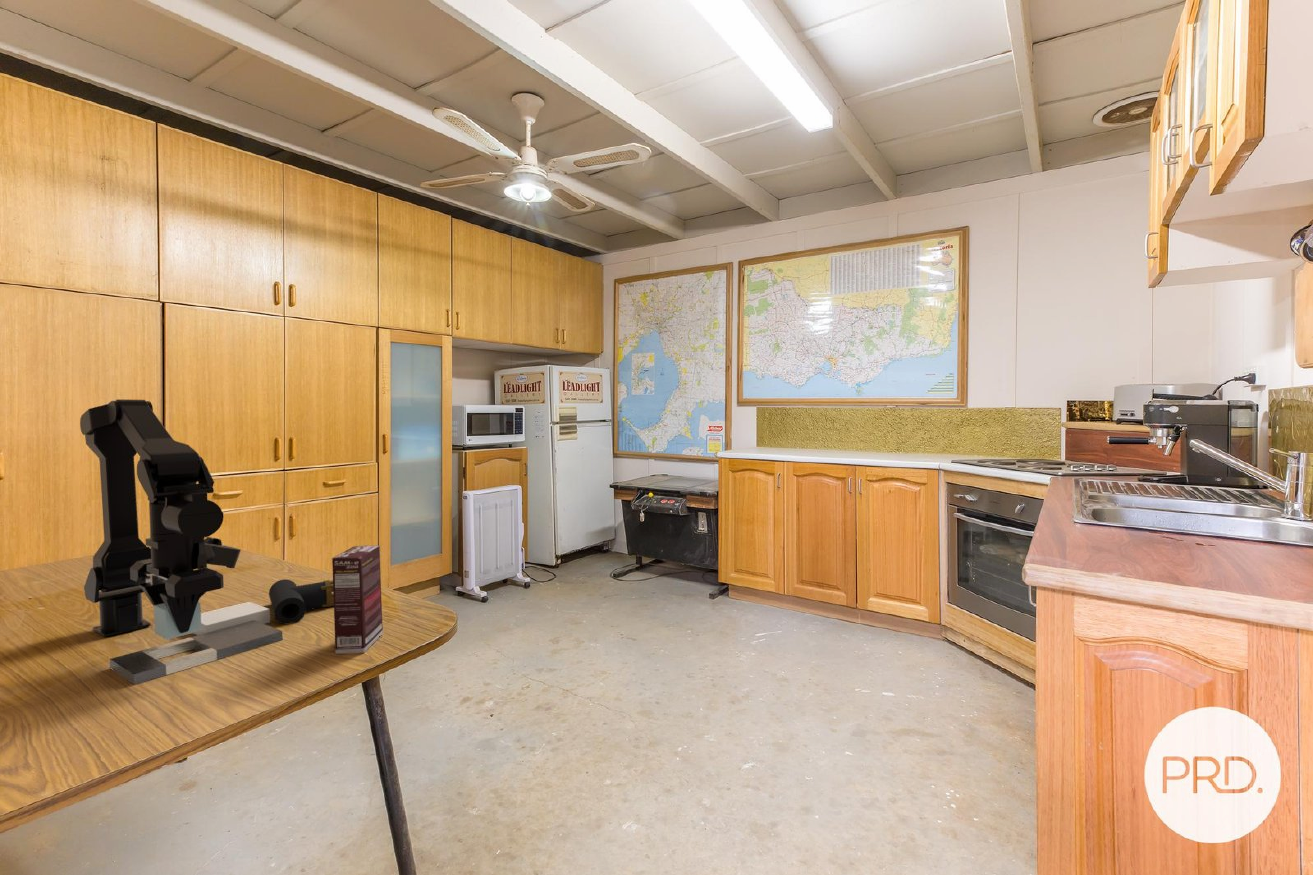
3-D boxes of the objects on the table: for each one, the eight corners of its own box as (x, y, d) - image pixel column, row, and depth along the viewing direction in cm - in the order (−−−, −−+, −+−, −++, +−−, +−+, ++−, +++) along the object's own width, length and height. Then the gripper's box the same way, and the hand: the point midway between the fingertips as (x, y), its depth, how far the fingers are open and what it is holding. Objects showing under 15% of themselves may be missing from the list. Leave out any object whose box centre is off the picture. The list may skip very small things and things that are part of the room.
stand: (187, 630, 107) (186, 616, 107) (249, 614, 115) (249, 601, 115) (206, 639, 103) (206, 625, 103) (270, 622, 111) (269, 609, 111)
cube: (155, 633, 94) (153, 605, 94) (189, 625, 97) (188, 597, 97) (166, 639, 91) (165, 610, 91) (201, 630, 95) (200, 602, 95)
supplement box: (355, 635, 105) (353, 545, 104) (383, 634, 105) (381, 544, 105) (332, 655, 96) (330, 557, 96) (364, 654, 97) (361, 556, 96)
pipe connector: (332, 571, 128) (343, 587, 116) (333, 595, 128) (345, 614, 116) (268, 581, 121) (273, 599, 109) (269, 606, 122) (275, 628, 109)
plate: (109, 668, 91) (109, 659, 91) (254, 628, 108) (254, 620, 108) (134, 684, 86) (133, 674, 86) (282, 639, 103) (282, 631, 103)
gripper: (259, 528, 95) (262, 625, 96) (208, 517, 105) (211, 604, 106) (174, 541, 86) (178, 648, 87) (127, 527, 96) (131, 623, 97)
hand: (177, 629), depth 94 cm, fingers closed on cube, 4 cm apart
